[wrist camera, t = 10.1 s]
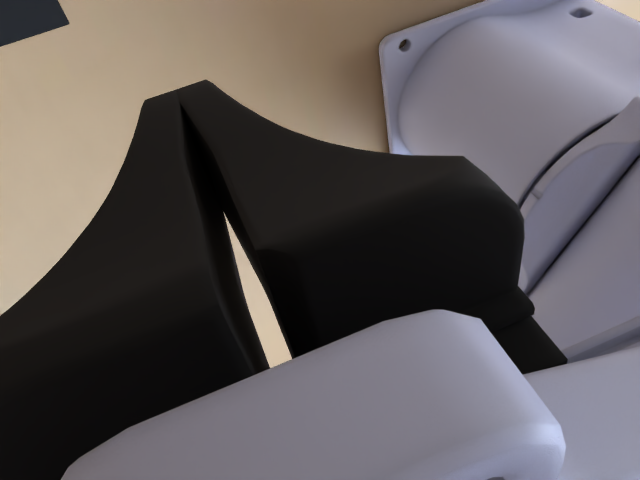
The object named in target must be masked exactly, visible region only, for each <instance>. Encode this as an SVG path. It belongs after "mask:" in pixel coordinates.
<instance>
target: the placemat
mask: <svg viewBox="0 0 640 480" xmlns="http://www.w3.org/2000/svg"><path fill="white" fill-rule="evenodd" d="M68 24H69V21H68V19H67V18H66V16H65V14H64V12H63V10H62V8H61V6H60V4H59V2H58V0H0V47H1V46H4V45H7V44H10V43H13V42H16V41H19V40H22V39H25V38H28V37H31V36H34V35H37V34H41V33H44V32H47V31H50V30H53V29H56V28H59V27H62V26H65V25H68Z"/></svg>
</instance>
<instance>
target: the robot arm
mask: <svg viewBox="0 0 640 480" xmlns="http://www.w3.org/2000/svg"><path fill="white" fill-rule="evenodd" d="M404 39H406V44H405V45H404V47H402V48H399V44H400V43H401V41H403V40H404ZM379 57H380V67H381V76H382V85H383V95H384V104H385V113H386V123H387V132H388V141H389V151H390V153H382V152H373V151H367V150H360V149H355V148H350V147H345V146H341V145H336V144H332V143H328V142H324V141H320V140H317V139H314V138H311V137H308V136H305V135H302V134H299V133H296V132H294V131H291V130H289V129H286V128H284V127H282V126H280V125H277V124H275V123H273V122H271V121H269V120H267V119H266V118H264V117H262V116H260V115H258V114H257V113H255V112H253V111H252V110H250V109H248V108H247V107H245V106H243V105H242V104H240V103H239V102H237V101H236V100H234V99H233V98H231V97H230V96H229V95H227V94H226V93H224V92H223V91H222V90H220V89H219V88H218V87H217V86H216V85H214V84H213V83H212V82H210V81H208V80H203V81H200V82H197V83H194V84H191V85H188V86H185V87H182V88H179V89H176V90H173V91H170V92H167V93H164V94H161V95H158V96H155V97H152V98H150V99H147V100H145V101H144V103H143V105H142V108H141V112H140V116H139V119H138V123H137V126H136V130H135V133H134V136H133V139H132V142H131V144H130V147H129V150H128V153H127V155H126V158H125V161H124V163H123V165H122V167H121V169H120V172H119V174H118V176H117V178H116V180H115V182H114V185H113V187H112V189H111V191H110V192H109V194H108V196H107V198H106V199H105V201H104V202H103V204H102V205H101V207H100V209H99V210H98V212H97V213H96V215H95V216H94V218H93V219H92V221H91V222H90V223H89V225H88V226H87V227H86V228H85V230H84V231H83V232H82V233H81V235H80V236H79V237H78V238H77V240H76V241H75V242H74V243H73V245H72V246H71V247H70V248H69V249H68V251H67V252H66V253H65V254H64V256H63V257H62V258H61V259H60V260H59V261H58V262H57V263H56V264H55V265H54V266H53V267H52V269H51V270H50V271H49V272H48V273H47V274H46V275H45V276H44V277H43V278H42V279H41V280H40V281H39V282H38V283H37V284H36V285H35V286H34V287H33V288H31V289H30V290H29V291H28V292H27V293H26V294H25V295H24V296H23V297H22V298H21V299H20V300H19V301H18V302H16V303H15V304H14V305H13V306H12V307H11V308H9V309H8V310H7V311H6V312H5V313H3V314H2V315H1V316H0V480H640V22H639V21H637V20H635V19H633V18H631V17H629V16H627V15H624V14H622V13H620V12H618V11H616V10H614V9H612V8H610V7H607V6H605V5H603V4H601V3H599V2H597V1H595V0H486V1H483V2H480V3H477V4H474V5H471V6H469V7H466V8H463V9H460V10H457V11H455V12H452V13H449V14H446V15H443V16H440V17H438V18H435V19H432V20H429V21H426V22H424V23H421V24H418V25H415V26H412V27H409V28H407V29H404V30H401V31H398V32H395V33H392V34H390V35H388V36H386V37H384V39H383V40H382V41H381V43H380V45H379ZM223 211H224V212H223ZM224 213H225V215H226V217H227V219H228V221H229V223H230V225H231V227H232V229H233V230H234V232H235V234H236V236H237V238H238V240H239V242H240V244H241V246H242V248H243V250H244V252H245V253H246V255H247V257H248V259H249V261H250V263H251V265H252V267H253V269H254V271H255V273H256V274H257V276H258V278H259V280H260V282H261V284H262V286H263V288H264V290H265V292H266V295H267V297H268V299H269V301H270V303H271V306H272V308H273V311H274V313H275V316H276V319H277V321H278V324H279V326H280V329H281V331H282V334H283V336H284V339H285V341H286V344H287V346H288V349H289V351H290V354H291V357H292V360H289V361H287V362H284V363H282V364H280V365H277V366H275V367H273V368H270V367H269V364H268V362H267V359H266V356H265V353H264V351H263V348H262V345H261V343H260V340H259V337H258V334H257V332H256V329H255V326H254V323H253V321H252V318H251V315H250V312H249V309H248V306H247V303H246V299H245V296H244V293H243V289H242V285H241V281H240V277H239V273H238V268H237V264H236V260H235V256H234V252H233V248H232V244H231V240H230V236H229V232H228V228H227V224H226V220H225V216H224Z"/></svg>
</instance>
